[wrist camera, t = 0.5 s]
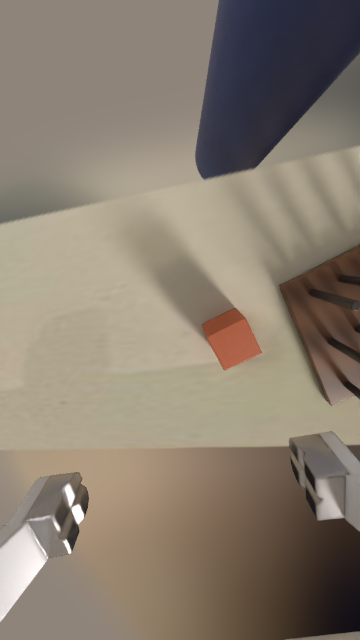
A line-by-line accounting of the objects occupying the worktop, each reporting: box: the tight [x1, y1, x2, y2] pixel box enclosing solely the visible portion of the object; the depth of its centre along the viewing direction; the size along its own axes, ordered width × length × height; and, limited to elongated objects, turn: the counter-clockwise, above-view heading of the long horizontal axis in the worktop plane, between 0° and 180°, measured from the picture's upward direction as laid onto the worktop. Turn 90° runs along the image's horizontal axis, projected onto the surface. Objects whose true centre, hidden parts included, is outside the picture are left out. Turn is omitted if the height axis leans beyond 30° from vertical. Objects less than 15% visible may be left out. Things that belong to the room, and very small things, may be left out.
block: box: [202, 308, 262, 370], centre depth 24 cm, size 4×4×4 cm
